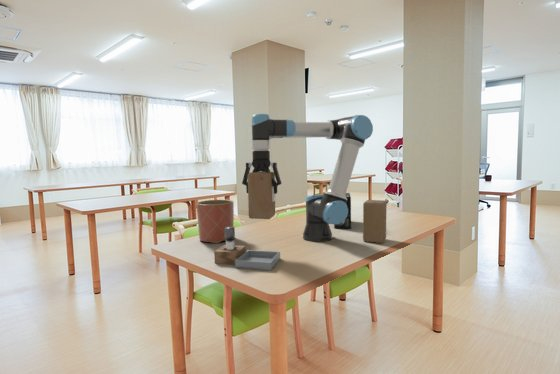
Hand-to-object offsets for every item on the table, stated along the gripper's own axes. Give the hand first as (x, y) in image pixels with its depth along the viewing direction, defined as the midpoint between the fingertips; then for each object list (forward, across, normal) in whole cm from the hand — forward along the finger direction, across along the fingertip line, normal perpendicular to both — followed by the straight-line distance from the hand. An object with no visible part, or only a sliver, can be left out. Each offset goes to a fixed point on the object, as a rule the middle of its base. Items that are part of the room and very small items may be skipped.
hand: (261, 200), depth 147 cm
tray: (+24, -2, +13) cm, 27 cm away
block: (+24, -49, -33) cm, 63 cm away
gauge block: (+24, +11, +11) cm, 29 cm away
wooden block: (+8, 0, 0) cm, 8 cm away
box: (+24, -29, -67) cm, 77 cm away
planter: (+24, +32, -19) cm, 45 cm away
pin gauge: (+24, +11, +11) cm, 29 cm away
